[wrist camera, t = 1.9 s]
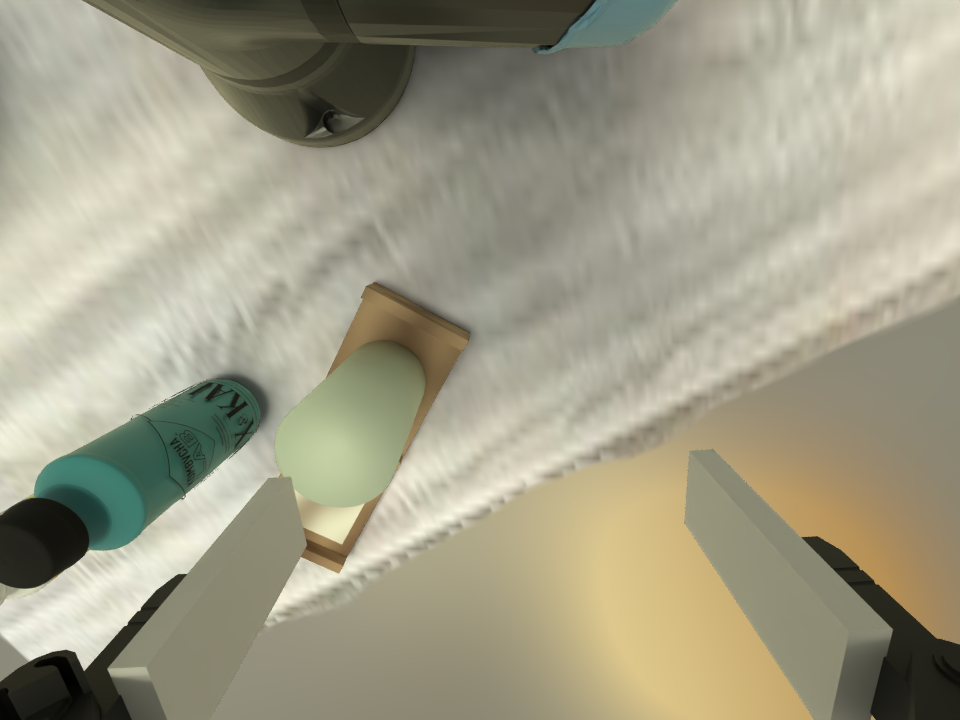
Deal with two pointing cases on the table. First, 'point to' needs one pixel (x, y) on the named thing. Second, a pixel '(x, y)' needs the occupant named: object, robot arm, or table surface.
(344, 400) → the sage canister
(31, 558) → the beverage bottle
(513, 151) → the table surface
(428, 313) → the wooden tray
